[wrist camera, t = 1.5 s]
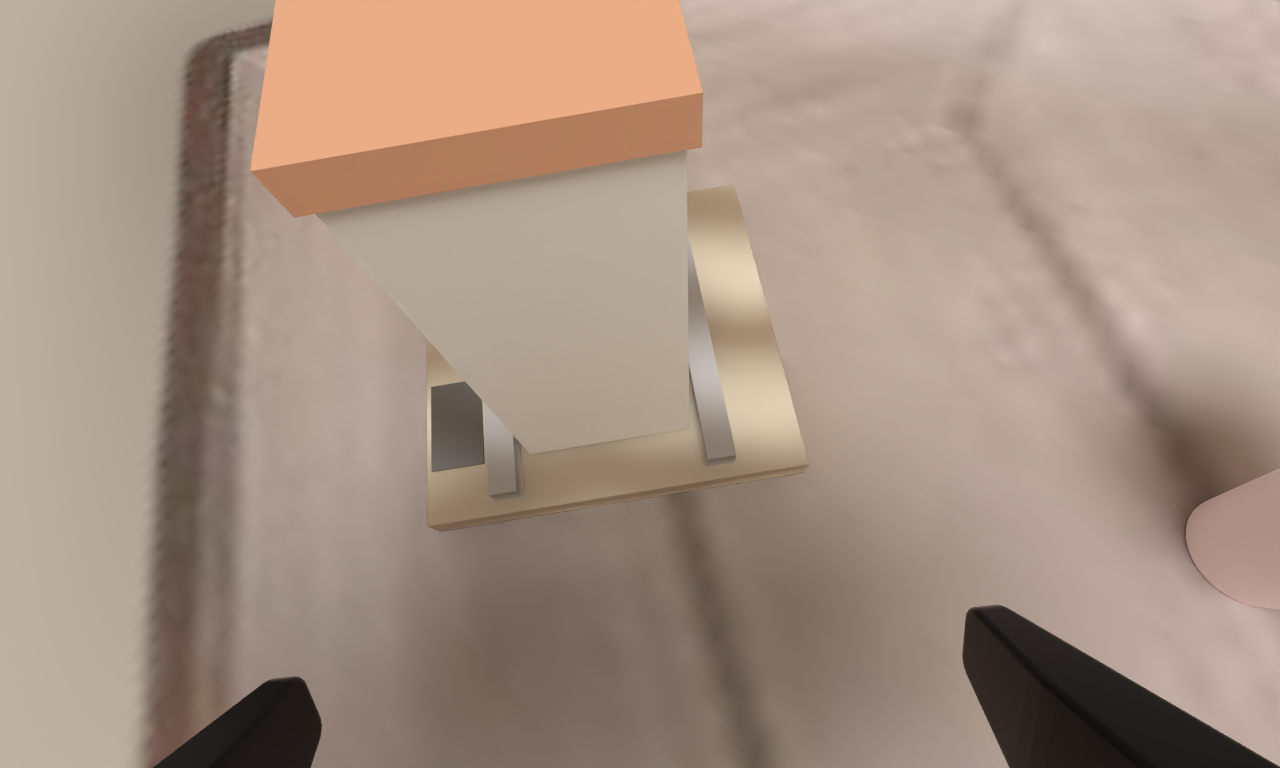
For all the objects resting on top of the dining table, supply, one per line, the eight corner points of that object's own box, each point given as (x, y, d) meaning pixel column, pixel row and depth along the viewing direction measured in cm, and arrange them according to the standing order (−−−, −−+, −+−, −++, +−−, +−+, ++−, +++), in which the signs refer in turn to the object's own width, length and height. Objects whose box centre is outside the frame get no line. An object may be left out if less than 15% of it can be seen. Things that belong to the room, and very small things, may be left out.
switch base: (802, 472, 22) (819, 448, 20) (440, 531, 23) (402, 516, 20) (732, 202, 28) (737, 151, 25) (437, 252, 28) (407, 207, 25)
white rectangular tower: (695, 432, 22) (703, 92, 8) (525, 460, 22) (249, 171, 8) (675, 328, 24) (653, -96, 10) (518, 355, 24) (281, -28, 10)
